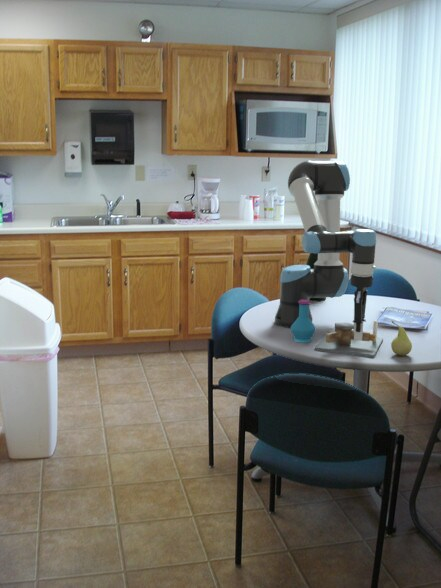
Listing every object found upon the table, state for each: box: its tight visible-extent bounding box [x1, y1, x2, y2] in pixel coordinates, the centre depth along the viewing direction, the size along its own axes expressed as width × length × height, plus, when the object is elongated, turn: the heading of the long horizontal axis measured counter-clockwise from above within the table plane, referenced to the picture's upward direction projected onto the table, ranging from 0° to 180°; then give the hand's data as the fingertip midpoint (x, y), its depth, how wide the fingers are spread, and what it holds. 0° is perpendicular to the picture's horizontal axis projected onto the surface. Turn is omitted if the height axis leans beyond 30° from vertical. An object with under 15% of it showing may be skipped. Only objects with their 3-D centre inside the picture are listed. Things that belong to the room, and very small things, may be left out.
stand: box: [313, 320, 384, 359], centre depth 246 cm, size 21×21×9 cm
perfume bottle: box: [290, 300, 317, 343], centre depth 252 cm, size 9×9×15 cm
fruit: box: [390, 320, 413, 357], centre depth 236 cm, size 7×8×12 cm
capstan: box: [325, 322, 375, 345], centre depth 243 cm, size 16×16×7 cm
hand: (358, 339), depth 240 cm, fingers closed
